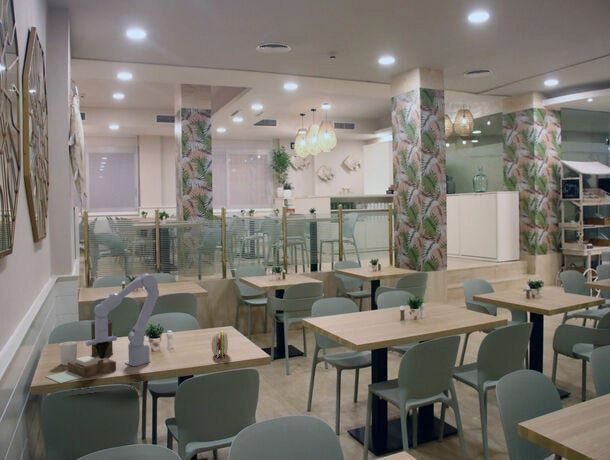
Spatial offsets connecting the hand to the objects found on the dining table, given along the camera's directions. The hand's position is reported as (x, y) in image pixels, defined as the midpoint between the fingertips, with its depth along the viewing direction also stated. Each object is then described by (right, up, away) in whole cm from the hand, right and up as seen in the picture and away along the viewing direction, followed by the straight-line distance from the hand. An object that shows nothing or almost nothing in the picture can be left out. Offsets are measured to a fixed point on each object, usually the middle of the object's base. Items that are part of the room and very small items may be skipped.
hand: (101, 358), depth 245 cm
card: (-5, -1, -6) cm, 7 cm away
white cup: (-19, -5, +8) cm, 22 cm away
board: (-3, -5, -4) cm, 7 cm away
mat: (-11, -5, -14) cm, 19 cm away
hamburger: (+52, -4, +21) cm, 57 cm away
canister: (-9, -4, +22) cm, 24 cm away
